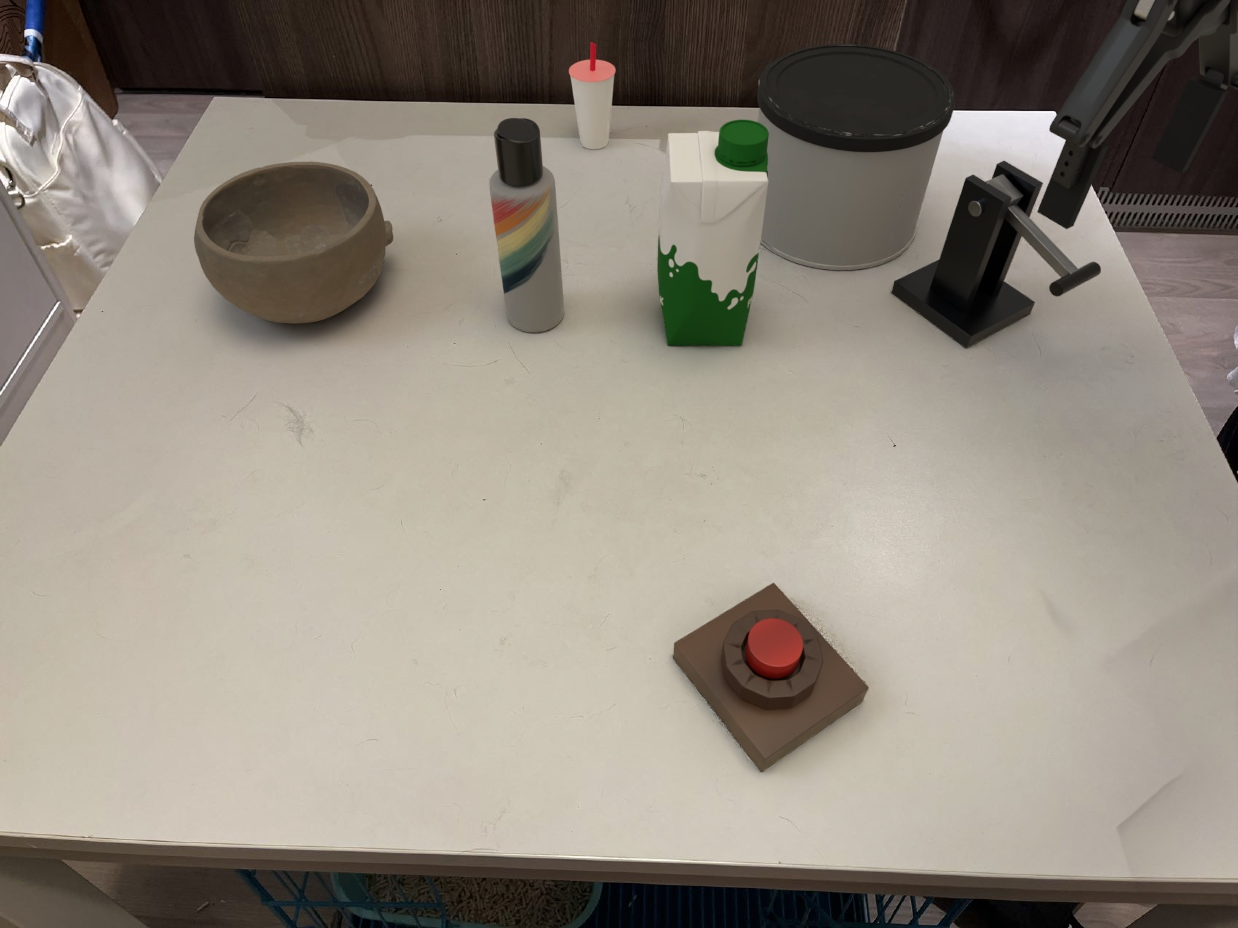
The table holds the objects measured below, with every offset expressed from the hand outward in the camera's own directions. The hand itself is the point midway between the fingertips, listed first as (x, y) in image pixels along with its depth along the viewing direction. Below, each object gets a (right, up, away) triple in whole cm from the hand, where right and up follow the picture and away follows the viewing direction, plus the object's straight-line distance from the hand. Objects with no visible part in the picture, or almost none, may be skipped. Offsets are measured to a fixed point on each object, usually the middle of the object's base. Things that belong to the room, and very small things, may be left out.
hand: (1113, 191), depth 69 cm
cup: (-41, +18, +40) cm, 60 cm away
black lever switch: (-4, -5, +20) cm, 21 cm away
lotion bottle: (-46, -6, +20) cm, 51 cm away
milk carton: (-30, -7, +19) cm, 36 cm away
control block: (-28, -36, -6) cm, 46 cm away
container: (-15, +6, +30) cm, 34 cm away
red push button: (-28, -34, -9) cm, 45 cm away
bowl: (-69, -3, +22) cm, 73 cm away
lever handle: (-2, -1, +10) cm, 11 cm away
